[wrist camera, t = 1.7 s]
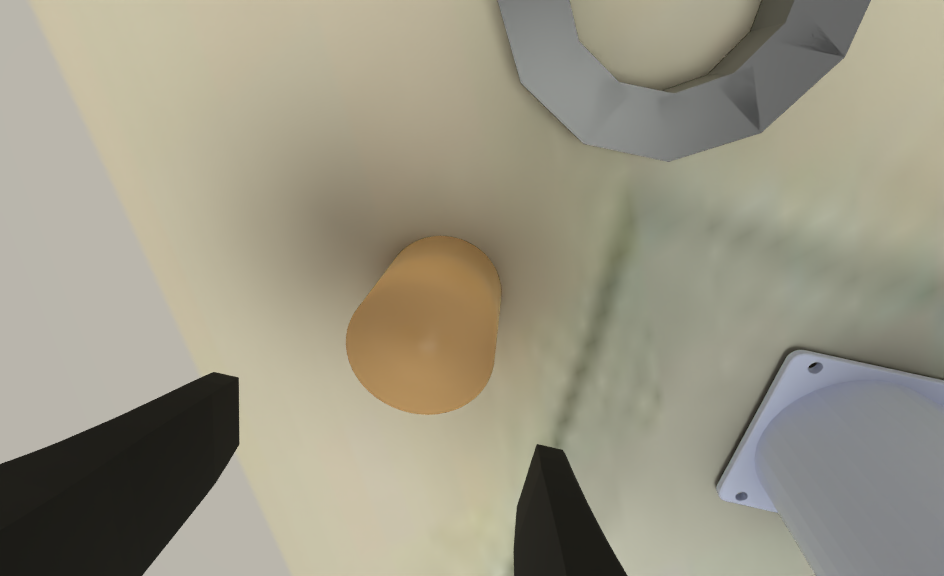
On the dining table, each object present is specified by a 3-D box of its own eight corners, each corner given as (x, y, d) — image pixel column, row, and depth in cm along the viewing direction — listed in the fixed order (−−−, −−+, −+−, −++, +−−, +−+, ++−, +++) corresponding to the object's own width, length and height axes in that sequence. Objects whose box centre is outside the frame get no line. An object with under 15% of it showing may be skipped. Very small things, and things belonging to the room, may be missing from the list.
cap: (512, 250, 19) (509, 302, 14) (488, 352, 21) (478, 427, 16) (394, 224, 19) (352, 268, 14) (381, 328, 21) (340, 397, 16)
